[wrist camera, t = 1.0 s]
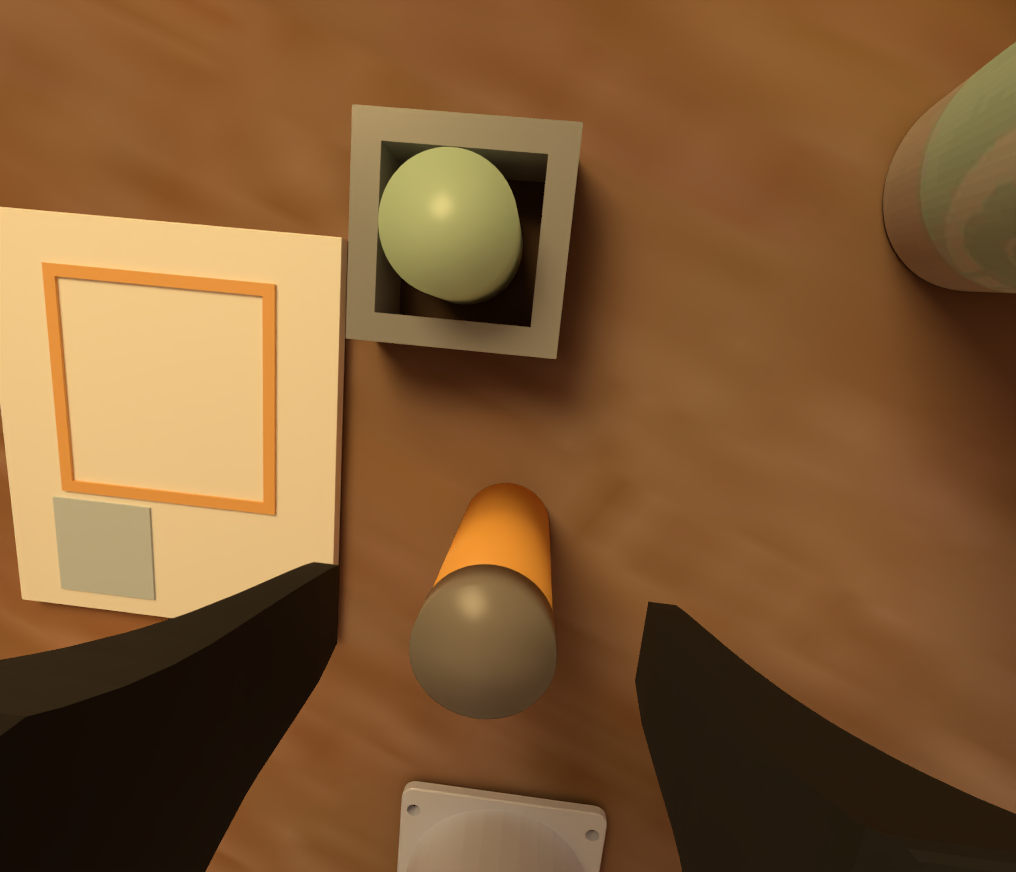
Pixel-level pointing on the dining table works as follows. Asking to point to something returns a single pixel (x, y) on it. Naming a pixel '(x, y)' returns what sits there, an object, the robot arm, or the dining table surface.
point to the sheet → (168, 406)
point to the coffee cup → (960, 186)
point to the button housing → (518, 156)
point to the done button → (451, 226)
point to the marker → (490, 610)
